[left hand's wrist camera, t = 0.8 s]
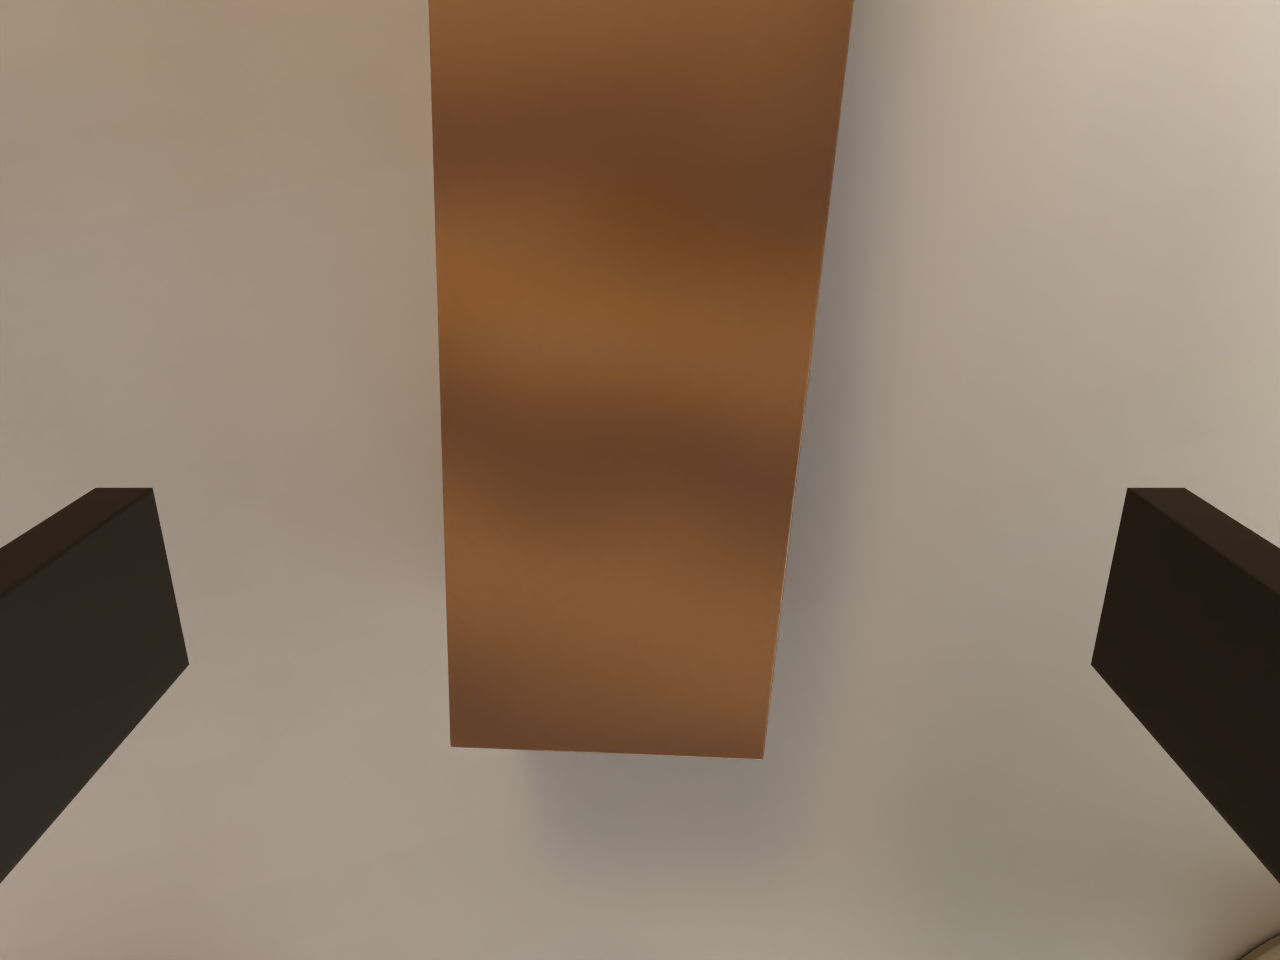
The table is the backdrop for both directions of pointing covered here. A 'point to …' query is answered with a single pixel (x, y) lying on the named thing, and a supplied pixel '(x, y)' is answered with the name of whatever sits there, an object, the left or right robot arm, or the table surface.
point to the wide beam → (625, 357)
